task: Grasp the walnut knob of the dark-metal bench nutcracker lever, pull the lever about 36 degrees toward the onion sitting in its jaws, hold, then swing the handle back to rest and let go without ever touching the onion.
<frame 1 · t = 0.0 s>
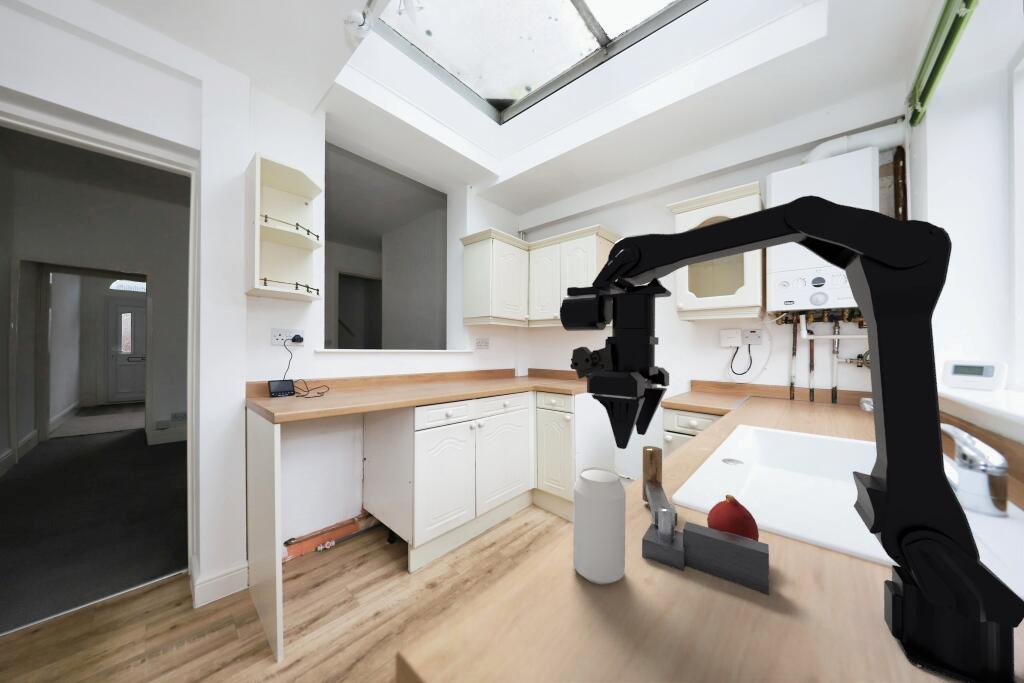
hand: (632, 440, 48), 15 cm above the counter, fingers open, 9 cm apart
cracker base: (666, 554, 46), on the counter
beverage can: (598, 573, 42), on the counter
lever: (657, 486, 55), point 6 cm above the counter, hinge at 0.0°
onion: (732, 556, 46), on the counter
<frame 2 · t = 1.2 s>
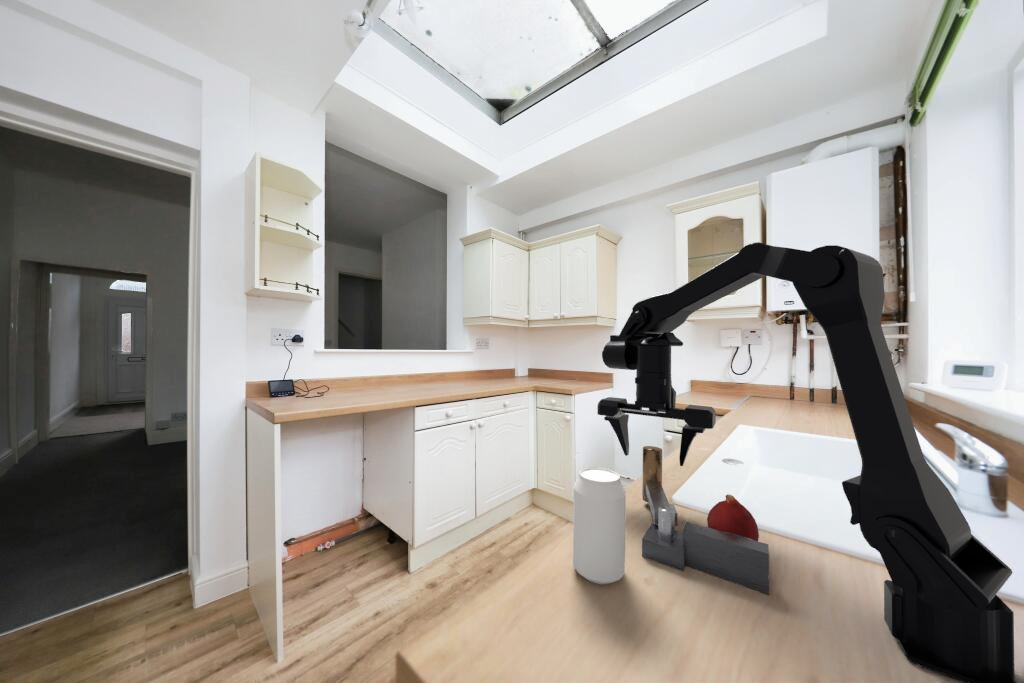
hand: (653, 460, 60), 8 cm above the counter, fingers open, 9 cm apart
nothing on the counter moved.
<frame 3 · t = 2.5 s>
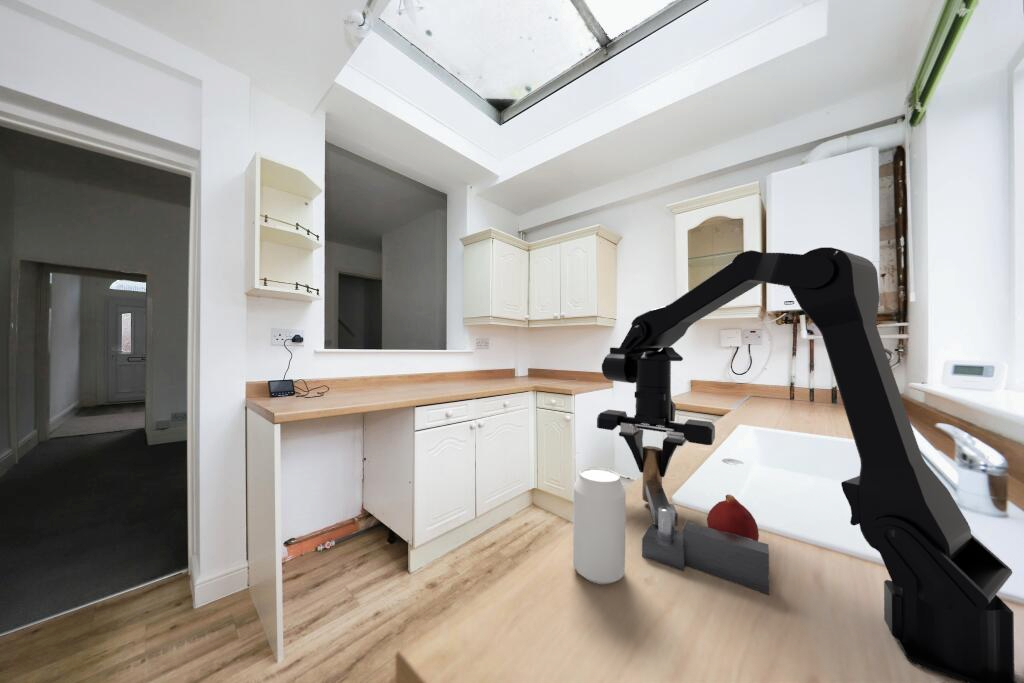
hand: (652, 474, 60), 6 cm above the counter, fingers closed on lever, 3 cm apart
lever: (657, 486, 55), point 6 cm above the counter, hinge at 0.0°, touching gripper
everything else where it was.
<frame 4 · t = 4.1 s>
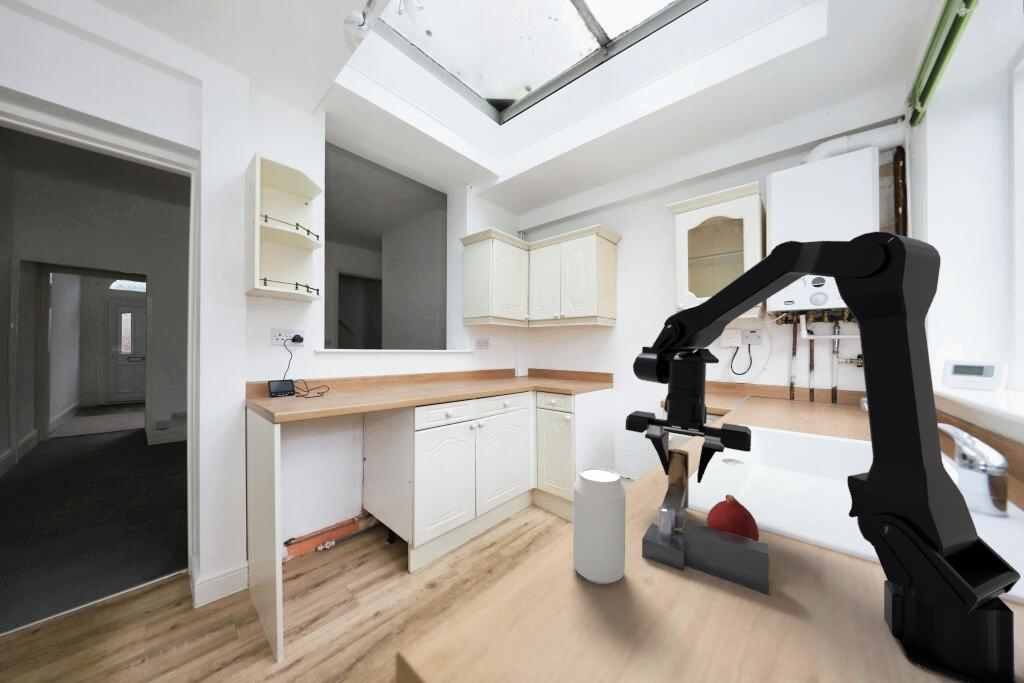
hand: (683, 478, 59), 5 cm above the counter, fingers open, 4 cm apart
lever: (675, 489, 54), point 5 cm above the counter, hinge at -15.8°, touching gripper
everything else where it was.
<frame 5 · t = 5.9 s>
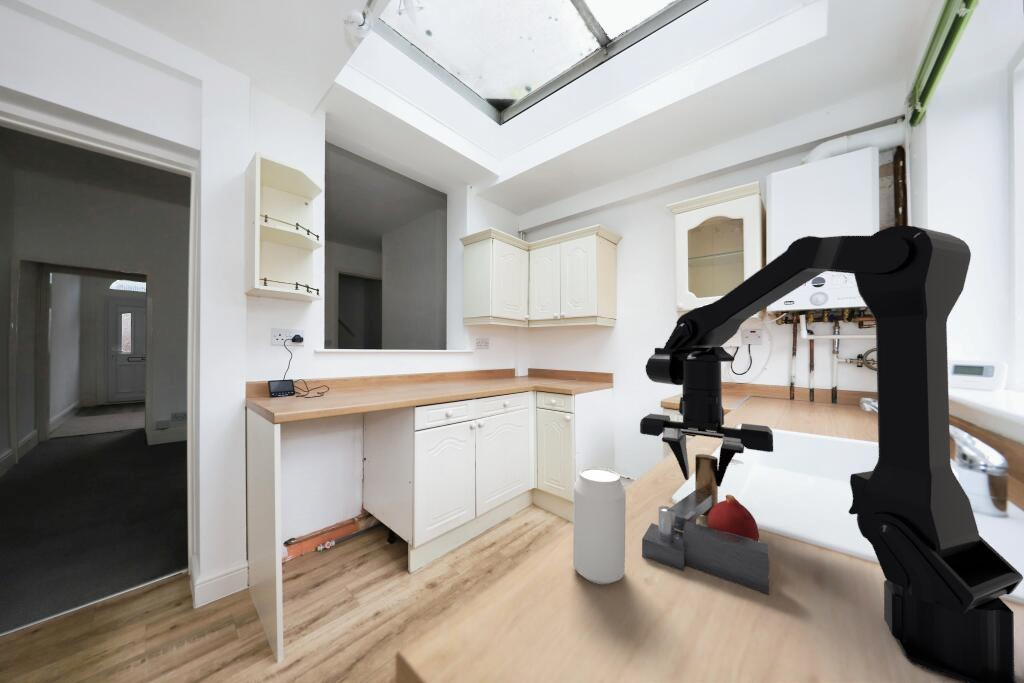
hand: (702, 482, 57), 6 cm above the counter, fingers open, 4 cm apart
lever: (693, 494, 52), point 6 cm above the counter, hinge at -32.2°, touching gripper
everything else where it was.
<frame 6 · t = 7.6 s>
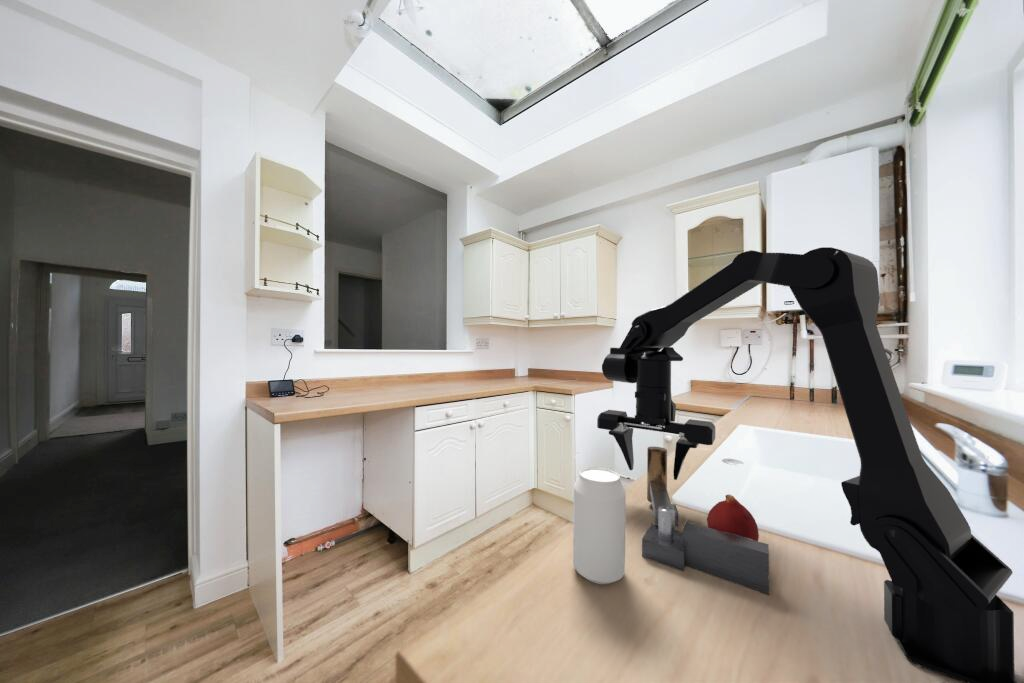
hand: (652, 474, 60), 6 cm above the counter, fingers open, 7 cm apart
lever: (660, 486, 55), point 5 cm above the counter, hinge at -3.0°
everything else where it was.
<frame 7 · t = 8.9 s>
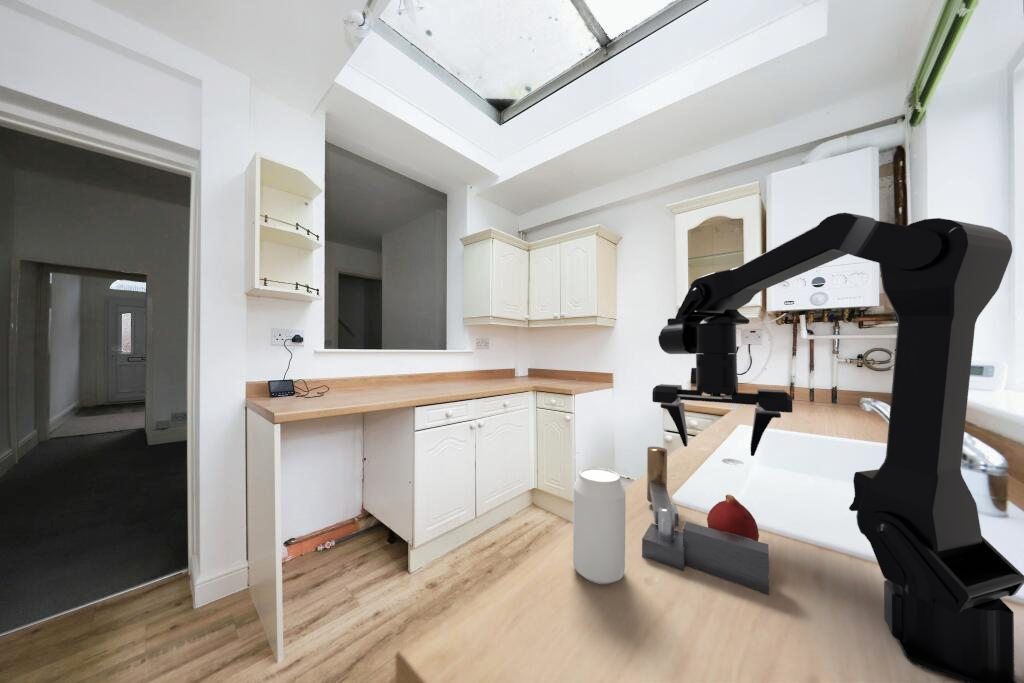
hand: (717, 450, 55), 11 cm above the counter, fingers open, 9 cm apart
nothing on the counter moved.
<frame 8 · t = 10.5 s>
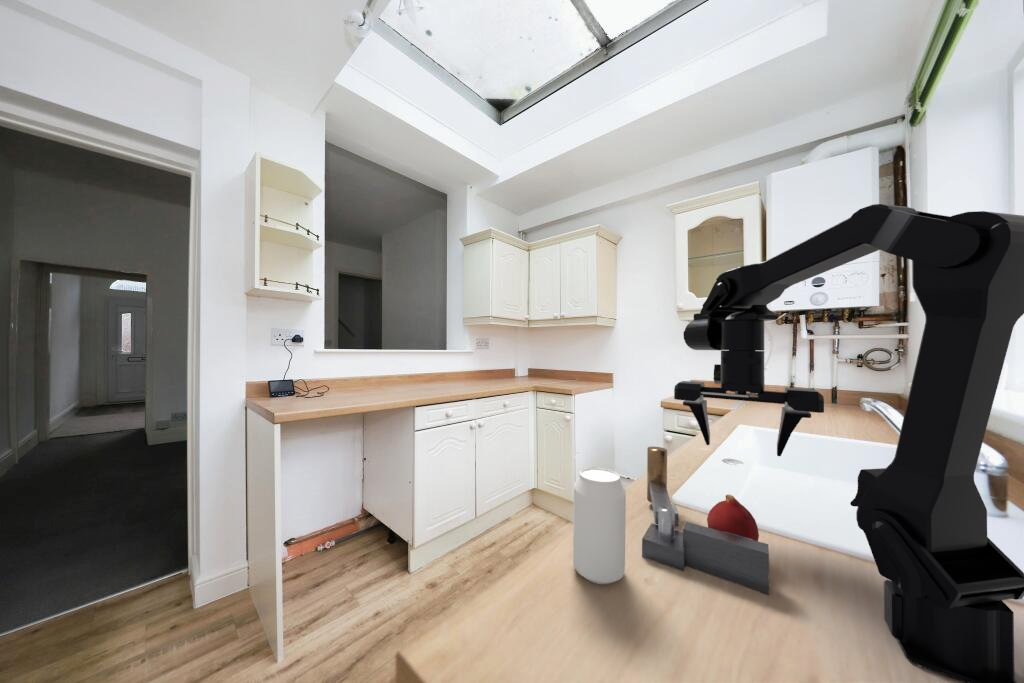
hand: (741, 449, 54), 12 cm above the counter, fingers open, 9 cm apart
nothing on the counter moved.
at the end: lever at -3° (first picture: +0°); the gripper is holding nothing; onion moved 0.2 cm from its start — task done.
